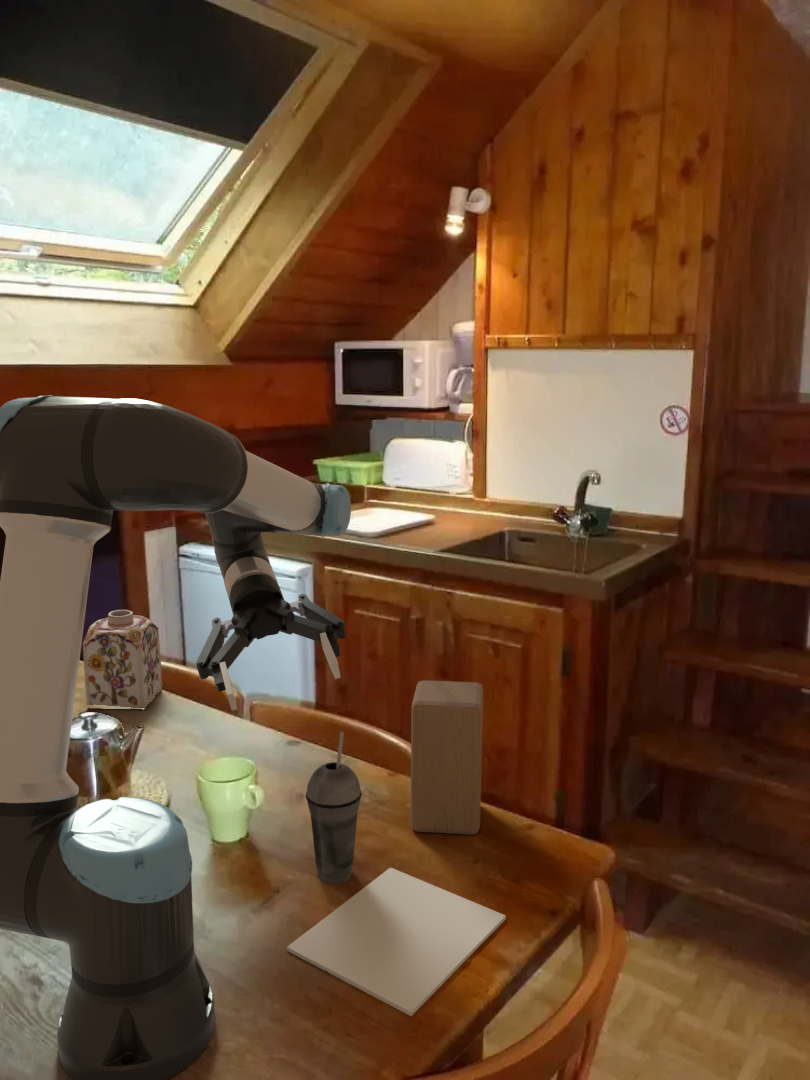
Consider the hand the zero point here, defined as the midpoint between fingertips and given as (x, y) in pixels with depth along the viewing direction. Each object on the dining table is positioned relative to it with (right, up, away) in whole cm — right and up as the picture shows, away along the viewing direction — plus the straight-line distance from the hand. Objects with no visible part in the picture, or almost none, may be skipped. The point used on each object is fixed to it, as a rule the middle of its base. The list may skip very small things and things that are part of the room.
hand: (285, 686), depth 111 cm
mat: (+15, -28, -7) cm, 33 cm away
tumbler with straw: (+6, -26, +5) cm, 27 cm away
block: (+21, -23, +19) cm, 37 cm away
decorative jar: (-41, -13, +64) cm, 77 cm away
